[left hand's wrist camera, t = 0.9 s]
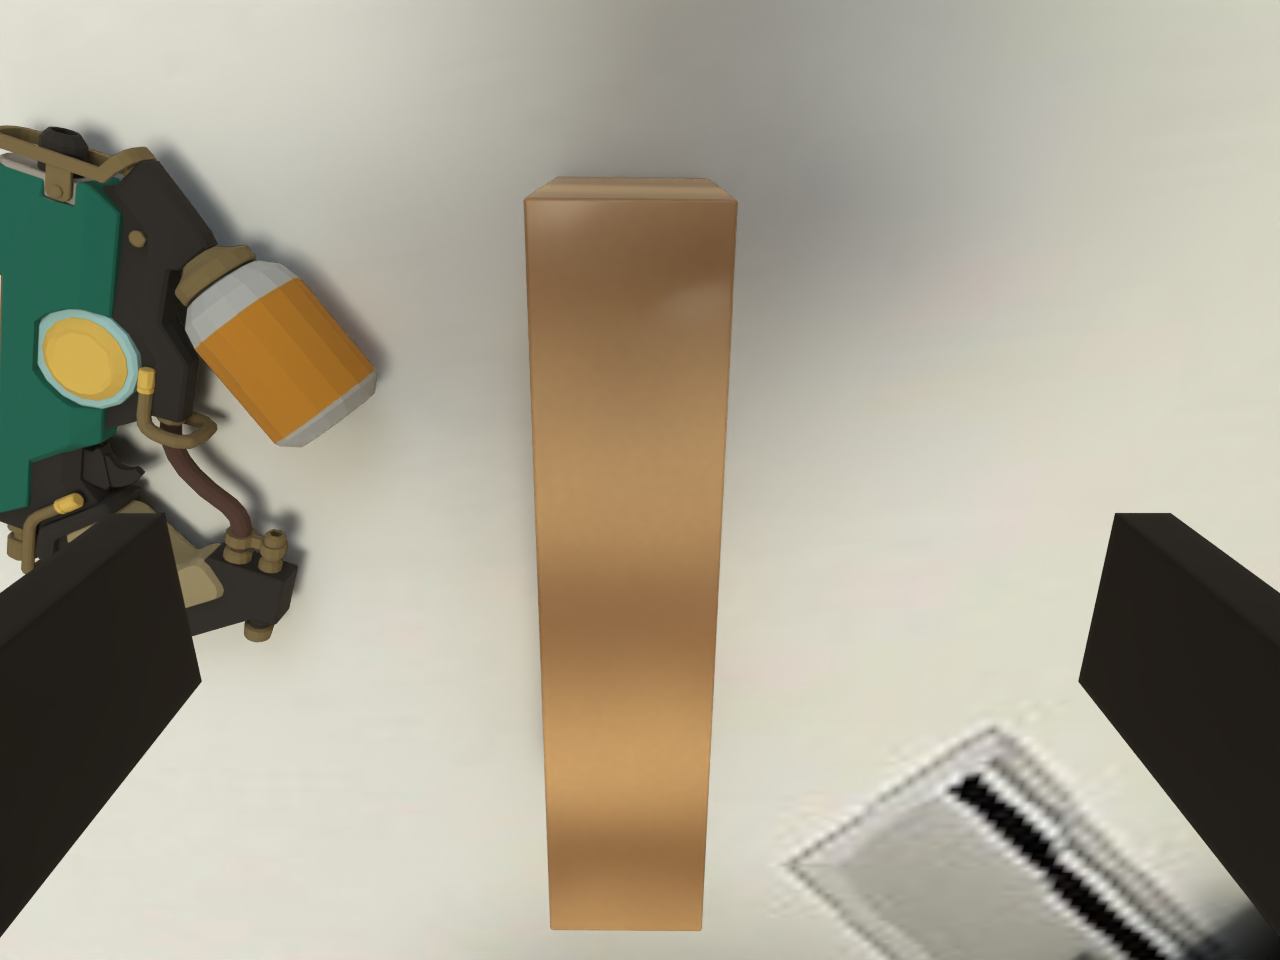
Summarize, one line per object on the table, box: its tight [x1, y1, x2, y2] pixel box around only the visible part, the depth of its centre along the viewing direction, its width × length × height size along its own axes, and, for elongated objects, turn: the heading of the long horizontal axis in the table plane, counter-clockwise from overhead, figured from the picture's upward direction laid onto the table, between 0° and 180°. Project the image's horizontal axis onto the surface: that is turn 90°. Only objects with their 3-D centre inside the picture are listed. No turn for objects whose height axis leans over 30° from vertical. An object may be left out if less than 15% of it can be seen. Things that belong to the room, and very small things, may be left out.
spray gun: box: [0, 126, 377, 642], centre depth 31 cm, size 4×17×15 cm
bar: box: [524, 177, 738, 931], centre depth 30 cm, size 24×5×9 cm, turn 179°
